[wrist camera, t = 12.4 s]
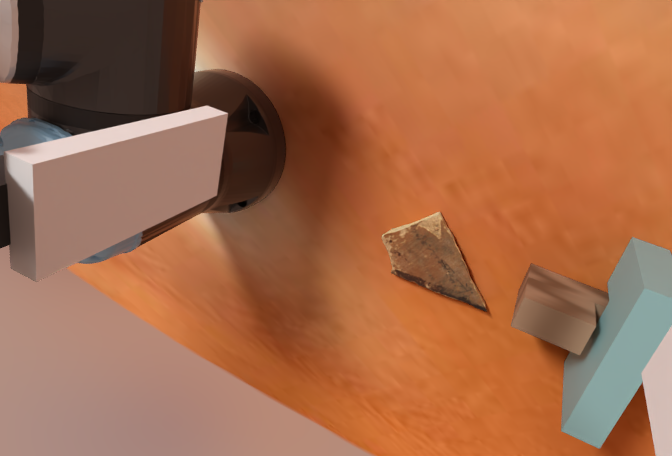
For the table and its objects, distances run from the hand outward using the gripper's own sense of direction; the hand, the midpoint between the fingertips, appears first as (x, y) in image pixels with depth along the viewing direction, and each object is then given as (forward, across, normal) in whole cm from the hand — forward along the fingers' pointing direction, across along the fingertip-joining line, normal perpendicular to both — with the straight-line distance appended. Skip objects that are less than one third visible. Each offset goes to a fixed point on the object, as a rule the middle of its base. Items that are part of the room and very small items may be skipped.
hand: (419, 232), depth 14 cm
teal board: (+35, +14, -16) cm, 41 cm away
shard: (+35, -2, -17) cm, 39 cm away
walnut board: (+35, +14, -16) cm, 41 cm away
